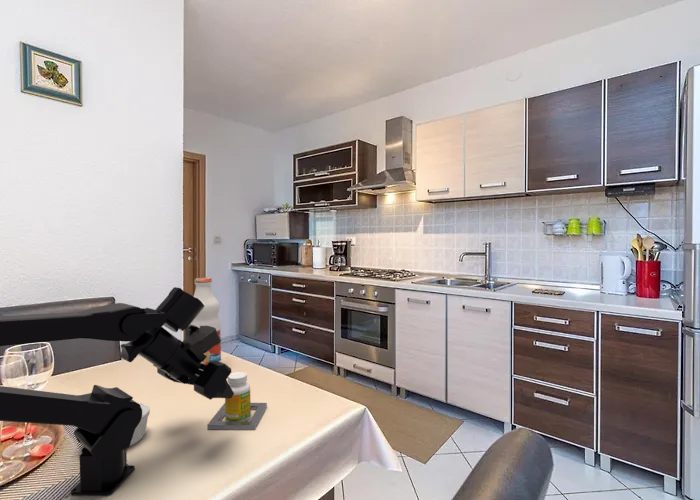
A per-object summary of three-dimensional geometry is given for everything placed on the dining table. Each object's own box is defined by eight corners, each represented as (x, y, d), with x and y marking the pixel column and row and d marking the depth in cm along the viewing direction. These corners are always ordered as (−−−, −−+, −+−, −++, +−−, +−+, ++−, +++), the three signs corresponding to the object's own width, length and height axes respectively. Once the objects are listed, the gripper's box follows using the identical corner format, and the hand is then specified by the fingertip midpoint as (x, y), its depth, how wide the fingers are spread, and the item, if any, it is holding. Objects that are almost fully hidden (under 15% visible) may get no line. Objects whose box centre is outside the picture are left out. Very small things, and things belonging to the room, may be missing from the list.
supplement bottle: (243, 425, 75) (242, 380, 75) (220, 423, 77) (219, 378, 76) (254, 413, 81) (254, 371, 80) (233, 411, 82) (232, 369, 82)
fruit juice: (191, 365, 112) (189, 277, 111) (222, 362, 114) (221, 276, 113) (184, 376, 103) (183, 280, 102) (219, 373, 105) (217, 279, 104)
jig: (254, 429, 74) (254, 425, 74) (207, 429, 74) (207, 424, 74) (266, 406, 84) (266, 402, 84) (225, 406, 84) (225, 402, 84)
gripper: (221, 322, 64) (269, 365, 74) (171, 310, 76) (218, 348, 85) (179, 378, 58) (237, 417, 67) (131, 356, 70) (186, 392, 79)
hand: (219, 390), depth 75 cm, fingers open, 9 cm apart
